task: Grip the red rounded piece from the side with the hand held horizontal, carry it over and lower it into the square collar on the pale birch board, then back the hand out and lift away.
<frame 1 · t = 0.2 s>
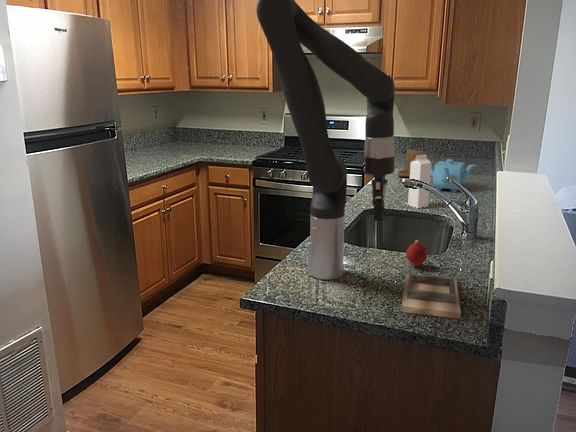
hand: (379, 215, 126), 18 cm above the worktop, tool pointing down, fingers open, 8 cm apart
milk: (417, 206, 204), on the worktop
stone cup: (411, 177, 265), on the worktop
red rounded piece: (415, 266, 139), on the worktop
teakettle: (447, 190, 234), on the worktop
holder: (430, 296, 119), on the worktop
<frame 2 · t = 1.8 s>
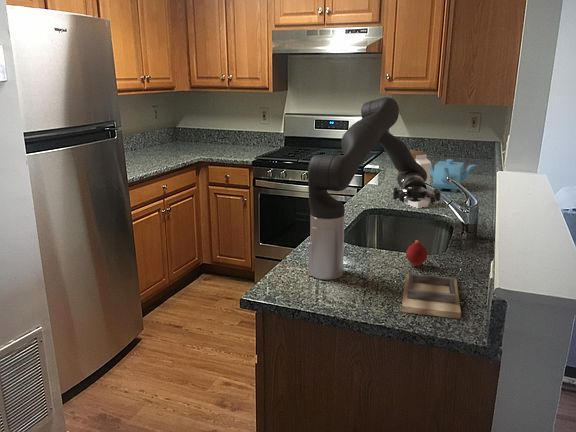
hand: (417, 199, 145), 17 cm above the worktop, tool horizontal, fingers open, 8 cm apart
nothing on the worktop moved.
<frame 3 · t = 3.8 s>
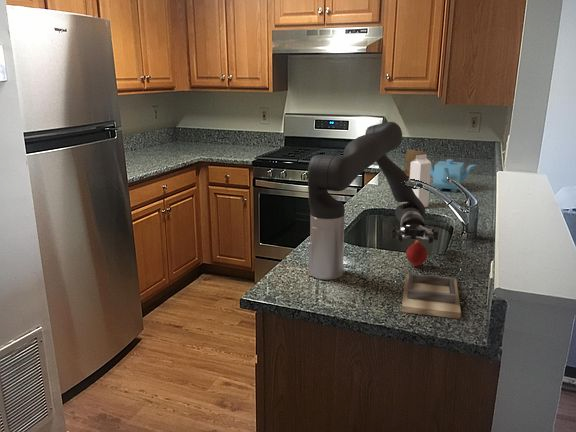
hand: (415, 239, 144), 6 cm above the worktop, tool horizontal, fingers open, 8 cm apart
nothing on the worktop moved.
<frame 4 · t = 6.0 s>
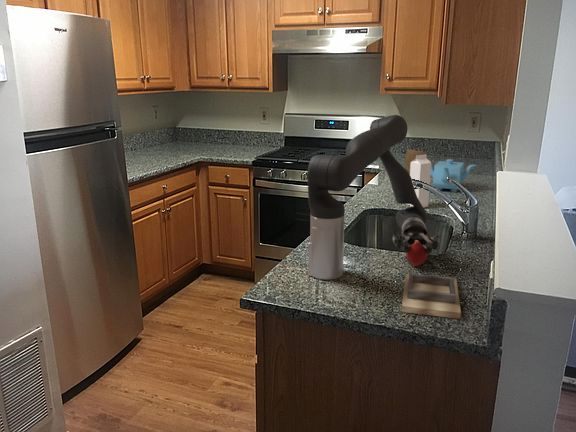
hand: (417, 249, 135), 6 cm above the worktop, tool horizontal, fingers closed on red rounded piece, 5 cm apart
red rounded piece: (415, 266, 139), on the worktop, touching gripper
everything else where it was.
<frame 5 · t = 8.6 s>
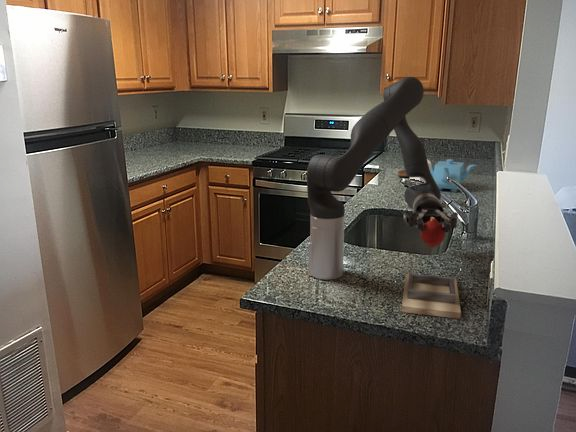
hand: (434, 227, 115), 18 cm above the worktop, tool horizontal, fingers closed on red rounded piece, 5 cm apart
red rounded piece: (431, 248, 120), point 12 cm above the worktop, touching gripper
everything else where it was.
when the fingers open (9 cm above the worktop, at t = 11.1 s): red rounded piece drops 1 cm, resting on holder.
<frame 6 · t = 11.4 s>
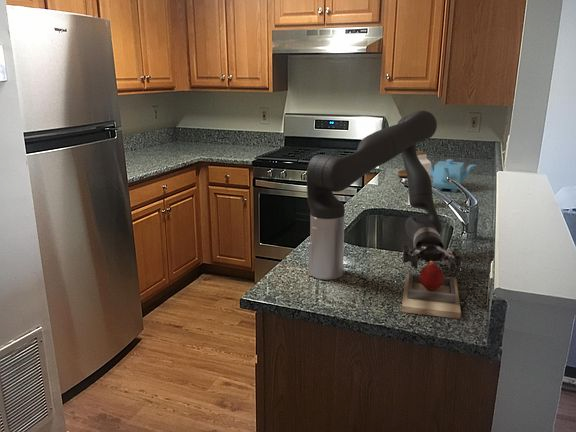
hand: (433, 266, 115), 9 cm above the worktop, tool horizontal, fingers open, 8 cm apart
red rounded piece: (430, 291, 119), point 1 cm above the worktop, touching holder
everything else where it was.
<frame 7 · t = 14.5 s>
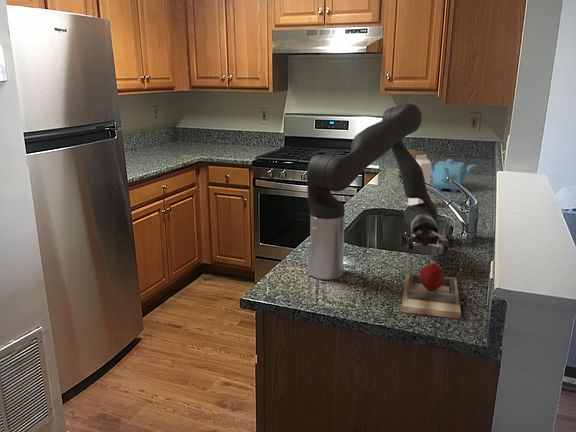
hand: (428, 248, 128), 9 cm above the worktop, tool horizontal, fingers open, 8 cm apart
nothing on the worktop moved.
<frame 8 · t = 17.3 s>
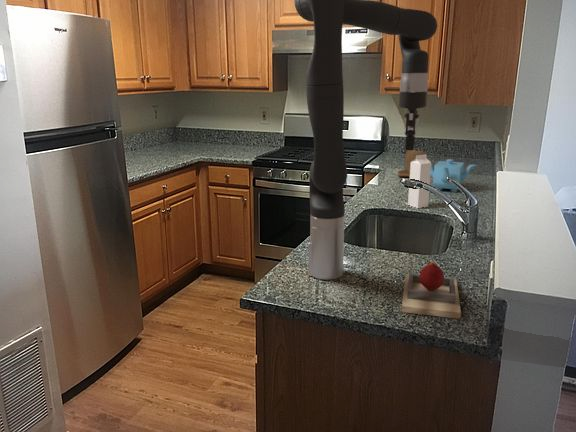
hand: (409, 148, 138), 33 cm above the worktop, tool pointing down, fingers open, 8 cm apart
nothing on the worktop moved.
at the end: red rounded piece 0.1 cm off-centre on the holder, point 1.3 cm above the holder's base; red rounded piece tilted 0°; the gripper is holding nothing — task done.
